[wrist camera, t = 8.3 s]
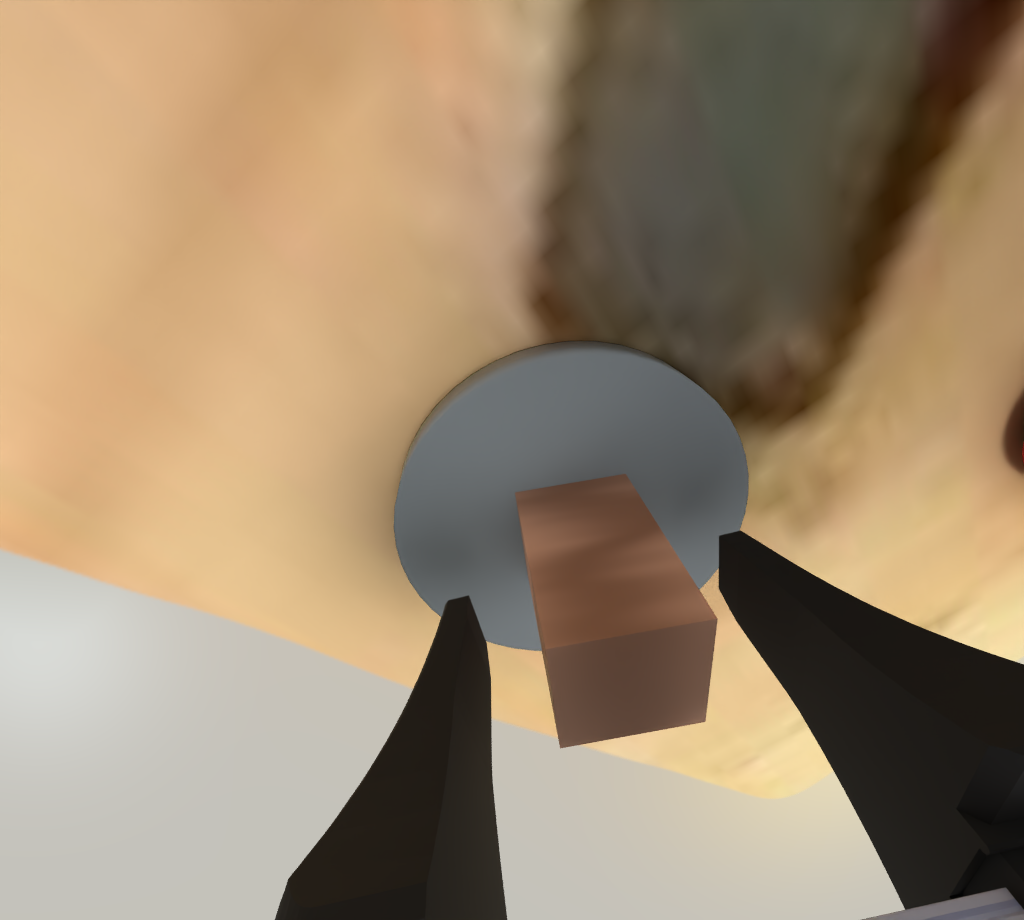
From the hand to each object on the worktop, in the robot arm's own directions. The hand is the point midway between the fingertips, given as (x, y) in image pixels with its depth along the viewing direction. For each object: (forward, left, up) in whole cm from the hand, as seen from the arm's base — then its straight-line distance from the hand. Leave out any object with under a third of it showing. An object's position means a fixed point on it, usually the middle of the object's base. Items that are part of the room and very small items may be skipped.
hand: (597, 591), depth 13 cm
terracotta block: (0, 0, -3) cm, 3 cm away
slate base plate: (0, 0, -4) cm, 4 cm away
